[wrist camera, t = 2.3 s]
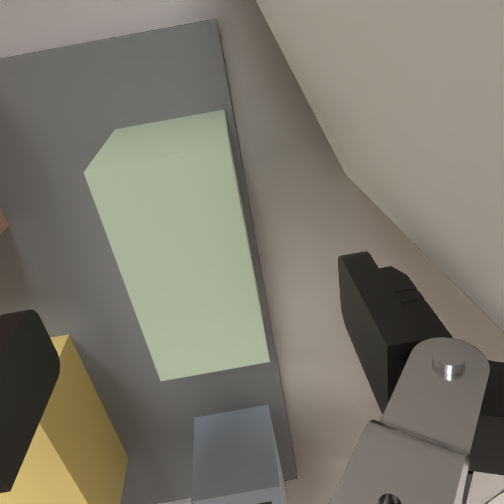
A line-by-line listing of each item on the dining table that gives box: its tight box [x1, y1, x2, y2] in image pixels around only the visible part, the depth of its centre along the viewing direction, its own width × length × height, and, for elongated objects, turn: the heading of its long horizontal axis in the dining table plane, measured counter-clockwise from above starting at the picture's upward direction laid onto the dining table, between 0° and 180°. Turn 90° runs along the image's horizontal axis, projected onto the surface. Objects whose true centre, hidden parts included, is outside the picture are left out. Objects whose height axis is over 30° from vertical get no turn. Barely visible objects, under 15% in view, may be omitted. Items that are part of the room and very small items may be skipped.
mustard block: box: [0, 334, 128, 504], centre depth 18 cm, size 8×4×4 cm, turn 9°
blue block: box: [192, 405, 288, 504], centre depth 21 cm, size 7×4×4 cm, turn 9°
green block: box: [84, 110, 270, 381], centre depth 14 cm, size 7×4×4 cm, turn 9°
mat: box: [0, 19, 298, 504], centre depth 18 cm, size 22×13×1 cm, turn 9°
